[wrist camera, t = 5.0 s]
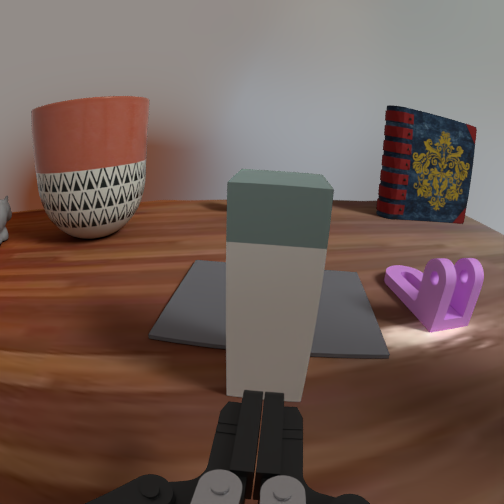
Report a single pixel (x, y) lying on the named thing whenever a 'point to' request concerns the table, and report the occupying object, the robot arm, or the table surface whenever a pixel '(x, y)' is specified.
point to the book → (425, 167)
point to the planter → (91, 162)
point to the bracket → (439, 291)
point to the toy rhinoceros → (4, 218)
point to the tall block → (273, 277)
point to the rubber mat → (327, 323)
